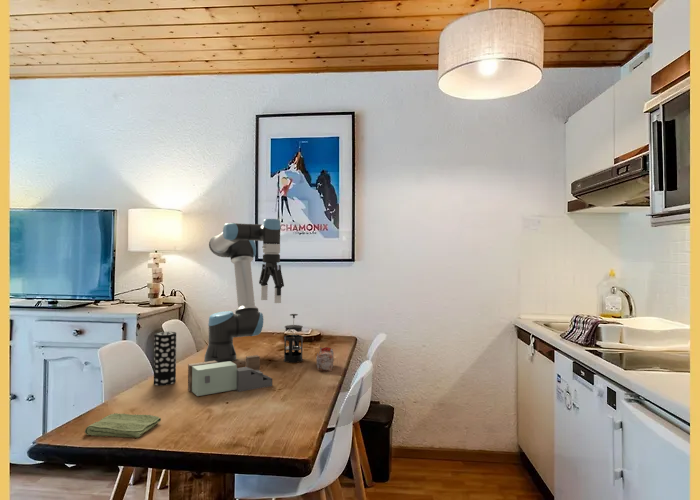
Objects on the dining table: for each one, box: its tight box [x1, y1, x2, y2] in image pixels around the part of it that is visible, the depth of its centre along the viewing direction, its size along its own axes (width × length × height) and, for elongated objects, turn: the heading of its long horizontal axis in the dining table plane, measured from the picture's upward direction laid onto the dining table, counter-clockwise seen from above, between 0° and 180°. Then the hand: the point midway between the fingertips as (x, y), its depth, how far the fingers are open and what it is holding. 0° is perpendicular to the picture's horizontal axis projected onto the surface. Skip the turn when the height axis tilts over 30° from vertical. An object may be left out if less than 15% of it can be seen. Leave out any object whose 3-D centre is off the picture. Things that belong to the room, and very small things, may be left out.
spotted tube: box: [153, 331, 177, 387], centre depth 182 cm, size 8×8×20 cm
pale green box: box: [191, 361, 238, 397], centre depth 172 cm, size 8×15×10 cm, turn 126°
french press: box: [283, 313, 304, 364], centre depth 222 cm, size 12×9×23 cm
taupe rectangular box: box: [187, 354, 261, 393], centre depth 180 cm, size 3×28×10 cm, turn 126°
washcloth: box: [84, 412, 162, 439], centre depth 135 cm, size 13×18×3 cm
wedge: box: [235, 366, 273, 393], centre depth 178 cm, size 5×14×8 cm, turn 124°
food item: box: [316, 346, 335, 372], centre depth 208 cm, size 14×8×10 cm, turn 2°
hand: (270, 301), depth 199 cm, fingers open, 13 cm apart
